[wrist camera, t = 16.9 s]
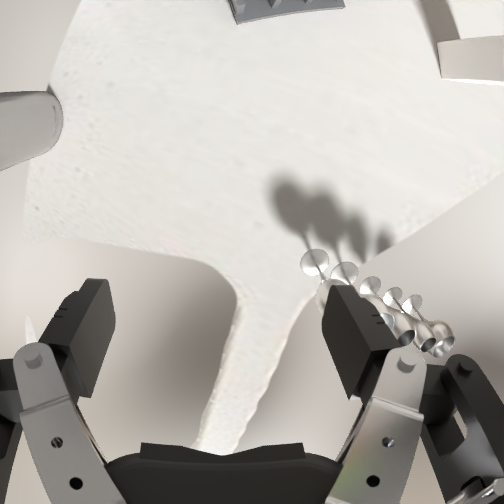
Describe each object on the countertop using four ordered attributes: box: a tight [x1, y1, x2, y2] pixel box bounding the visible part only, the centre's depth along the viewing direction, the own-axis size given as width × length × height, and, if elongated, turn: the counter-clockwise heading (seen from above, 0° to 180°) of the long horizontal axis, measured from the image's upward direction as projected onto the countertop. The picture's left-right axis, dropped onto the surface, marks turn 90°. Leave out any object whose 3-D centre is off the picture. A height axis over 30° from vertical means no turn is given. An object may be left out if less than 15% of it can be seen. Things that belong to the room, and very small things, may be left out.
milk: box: [437, 36, 504, 85], centre depth 23 cm, size 6×6×22 cm
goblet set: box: [300, 249, 455, 358], centre depth 43 cm, size 28×6×13 cm, turn 63°
